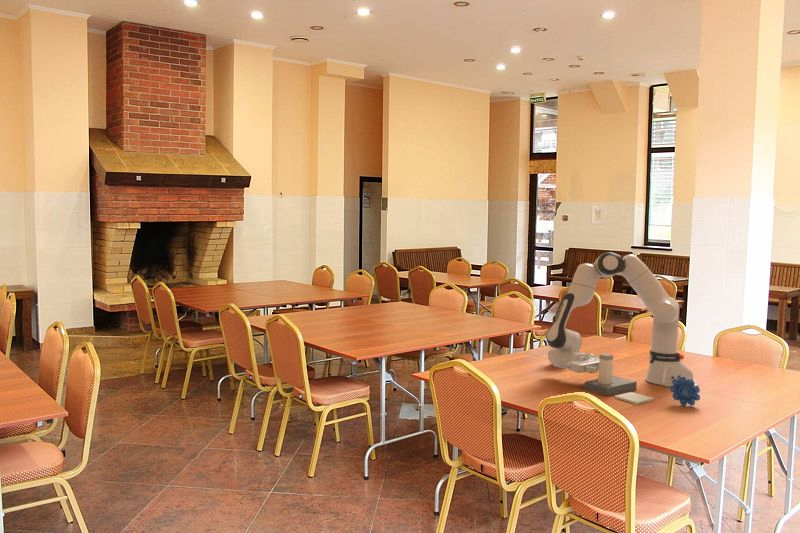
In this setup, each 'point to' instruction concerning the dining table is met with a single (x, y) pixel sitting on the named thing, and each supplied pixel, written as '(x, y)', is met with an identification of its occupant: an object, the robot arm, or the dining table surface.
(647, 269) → the robot arm
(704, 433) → the dining table surface
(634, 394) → the sage pad
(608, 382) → the cream plug
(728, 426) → the dining table surface
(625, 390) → the block
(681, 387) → the grapes
